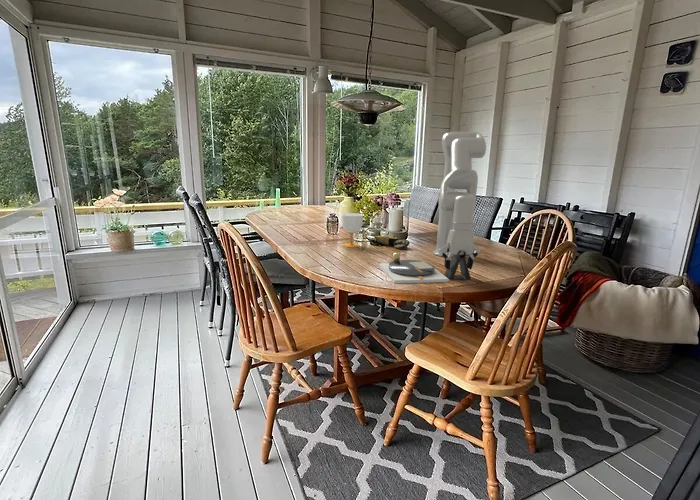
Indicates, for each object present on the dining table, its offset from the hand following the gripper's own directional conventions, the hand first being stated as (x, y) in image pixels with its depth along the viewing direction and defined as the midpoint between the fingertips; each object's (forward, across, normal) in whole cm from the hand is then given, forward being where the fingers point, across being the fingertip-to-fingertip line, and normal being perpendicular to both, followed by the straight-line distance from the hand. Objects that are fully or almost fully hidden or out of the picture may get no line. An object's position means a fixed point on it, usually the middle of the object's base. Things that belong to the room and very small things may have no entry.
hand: (458, 268), depth 155 cm
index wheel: (+2, +17, -8) cm, 19 cm away
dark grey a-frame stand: (+4, 0, 0) cm, 4 cm away
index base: (+4, +17, -8) cm, 19 cm away
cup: (+4, +34, -60) cm, 69 cm away
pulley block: (+4, +12, -62) cm, 63 cm away
